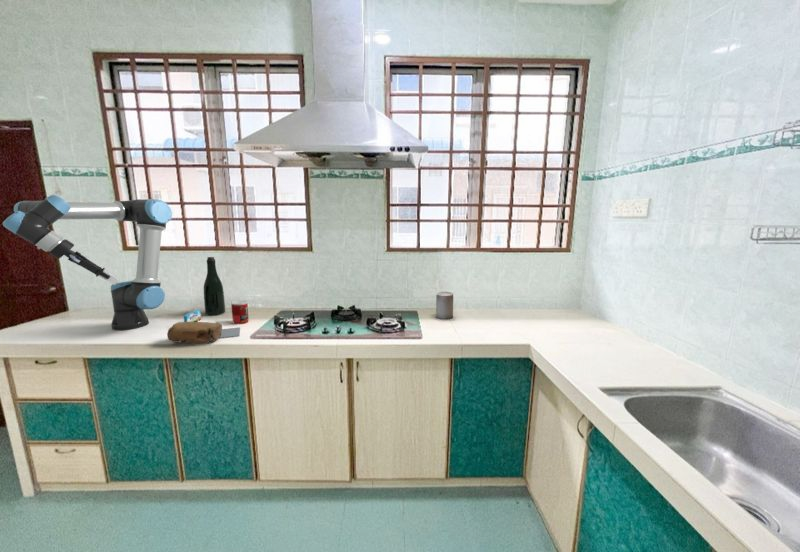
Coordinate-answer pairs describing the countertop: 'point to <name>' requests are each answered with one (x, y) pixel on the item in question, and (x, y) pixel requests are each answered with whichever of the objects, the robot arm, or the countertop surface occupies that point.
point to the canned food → (240, 312)
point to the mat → (228, 333)
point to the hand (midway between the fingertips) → (116, 282)
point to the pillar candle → (444, 305)
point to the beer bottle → (213, 290)
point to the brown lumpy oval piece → (195, 332)
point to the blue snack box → (193, 316)
